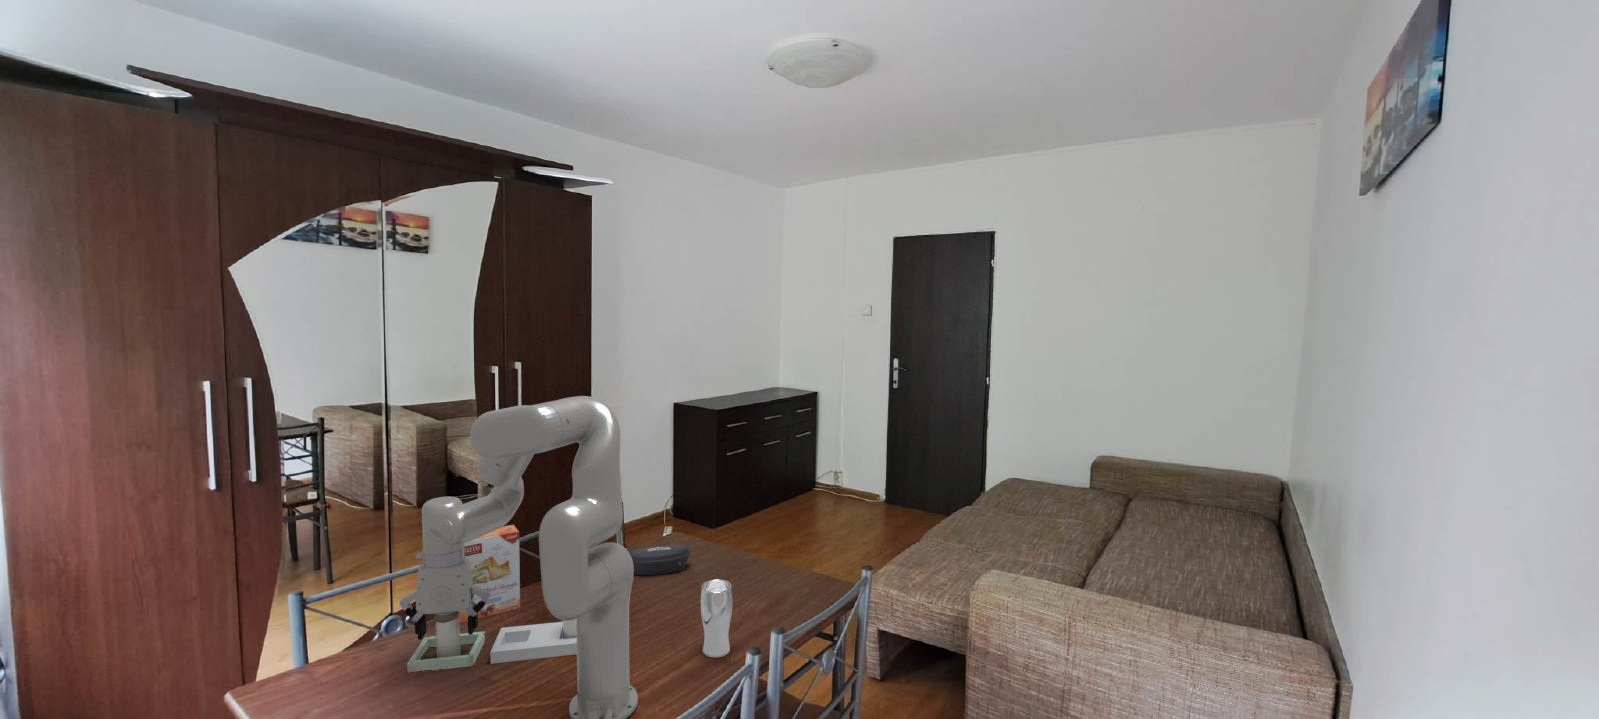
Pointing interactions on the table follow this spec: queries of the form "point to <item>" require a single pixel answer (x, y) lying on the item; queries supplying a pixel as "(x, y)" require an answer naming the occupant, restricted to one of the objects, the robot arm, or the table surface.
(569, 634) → the fuse
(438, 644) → the cylinder
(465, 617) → the cracker box
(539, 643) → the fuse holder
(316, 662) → the table surface
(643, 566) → the glasses case
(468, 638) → the green square frame
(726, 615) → the beer glass
